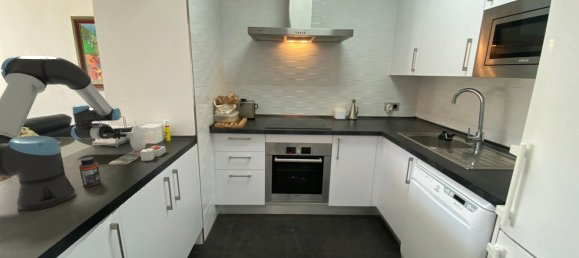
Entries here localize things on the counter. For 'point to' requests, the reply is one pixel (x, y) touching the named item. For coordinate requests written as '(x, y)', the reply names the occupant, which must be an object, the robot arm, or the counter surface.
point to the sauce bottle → (138, 138)
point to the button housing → (159, 151)
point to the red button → (155, 147)
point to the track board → (127, 158)
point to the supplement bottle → (89, 172)
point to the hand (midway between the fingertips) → (140, 132)
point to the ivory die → (147, 154)
